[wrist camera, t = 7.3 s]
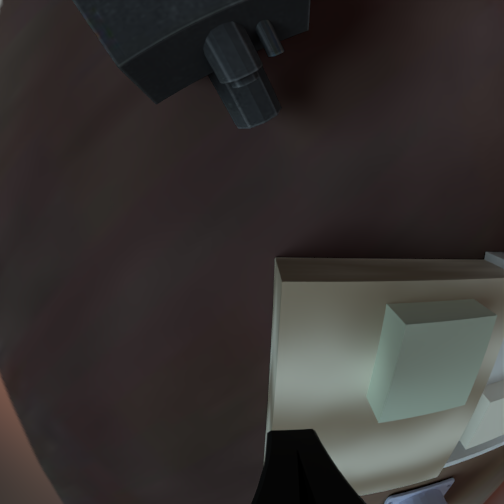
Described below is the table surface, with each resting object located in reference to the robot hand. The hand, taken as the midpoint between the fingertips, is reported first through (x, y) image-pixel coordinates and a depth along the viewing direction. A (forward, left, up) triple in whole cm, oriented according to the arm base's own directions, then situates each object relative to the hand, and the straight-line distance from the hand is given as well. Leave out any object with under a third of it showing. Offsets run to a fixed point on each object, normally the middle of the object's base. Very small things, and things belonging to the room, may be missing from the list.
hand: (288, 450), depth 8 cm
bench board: (-4, -7, -9) cm, 12 cm away
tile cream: (-9, -18, -6) cm, 21 cm away
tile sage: (0, -7, -5) cm, 9 cm away
